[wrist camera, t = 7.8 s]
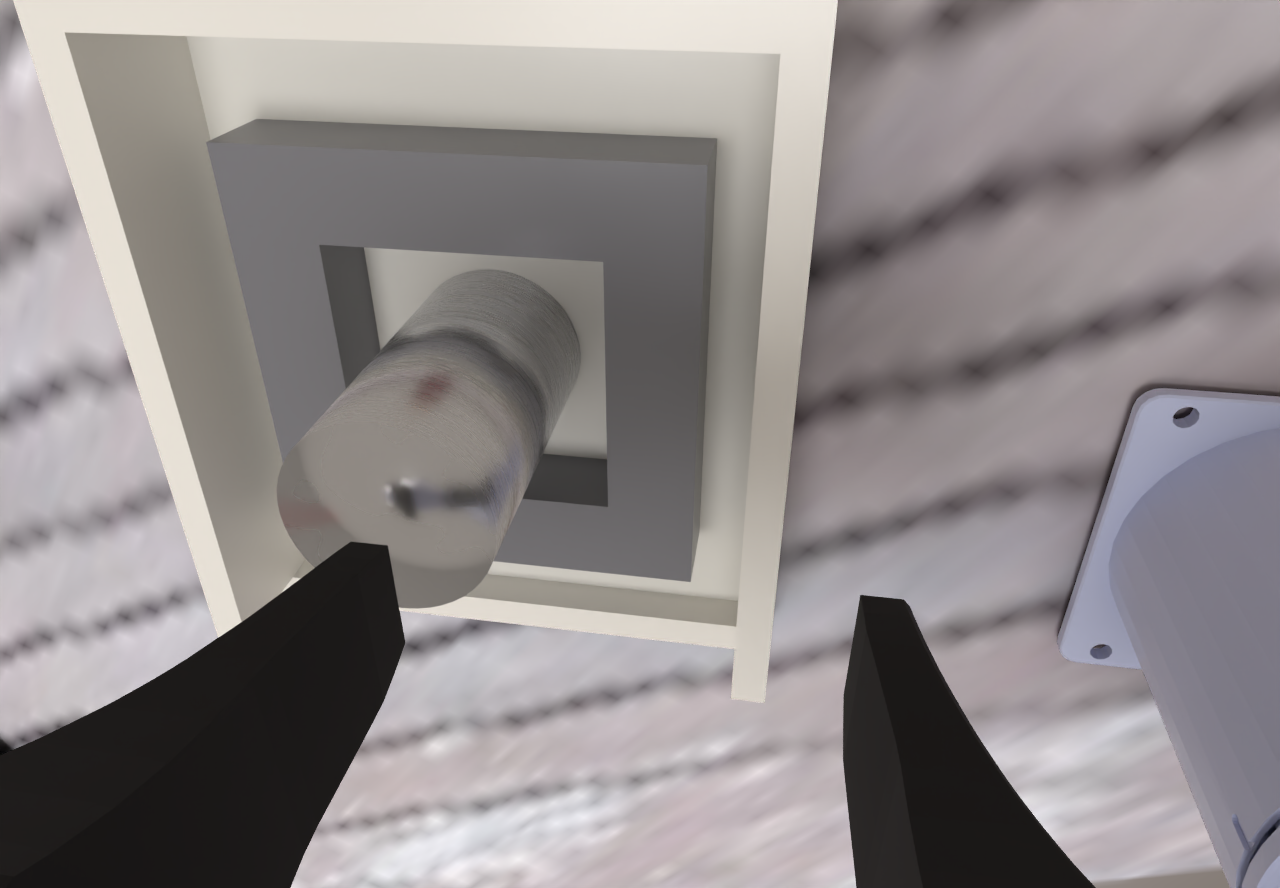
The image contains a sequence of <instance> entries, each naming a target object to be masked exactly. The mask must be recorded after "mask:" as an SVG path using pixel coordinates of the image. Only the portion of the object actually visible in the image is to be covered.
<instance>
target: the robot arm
mask: <svg viewBox="0 0 1280 888" xmlns="http://www.w3.org/2000/svg"><path fill="white" fill-rule="evenodd" d="M1185 407H1192V408H1193V410H1192V412H1191V413H1190V415H1188V416H1186V417H1185V418H1181V419H1175V418H1173V416H1174V414H1175V413H1176V412H1177V411H1178V410H1180V409H1182V408H1185ZM1057 644H1058V647H1059V650H1060V653H1061V654H1062V656H1063V657H1064V658H1065V659H1067V660H1069V661H1073V662H1078V663H1087V664H1096V665H1105V666H1114V667H1123V668H1132V669H1141V670H1142V671H1143V673H1144V675H1145V678H1146V680H1147V683H1148V685H1149V688H1150V690H1151V693H1152V695H1153V698H1154V700H1155V703H1156V705H1157V708H1158V710H1159V713H1160V715H1161V718H1162V720H1163V723H1164V725H1165V728H1166V730H1167V732H1168V735H1169V737H1170V740H1171V742H1172V745H1173V747H1174V750H1175V752H1176V755H1177V757H1178V760H1179V762H1180V765H1181V767H1182V770H1183V772H1184V775H1185V777H1186V780H1187V782H1188V784H1189V787H1190V789H1191V792H1192V794H1193V797H1194V799H1195V802H1196V804H1197V807H1198V809H1199V812H1200V814H1201V817H1202V819H1203V822H1204V824H1205V827H1206V829H1207V832H1208V834H1209V837H1210V839H1211V841H1212V844H1213V846H1214V849H1215V851H1216V854H1217V856H1218V859H1219V861H1220V864H1221V866H1222V869H1223V871H1224V874H1225V876H1226V879H1227V881H1228V884H1229V886H1230V888H1280V397H1279V396H1266V395H1252V394H1238V393H1225V392H1211V391H1197V390H1184V389H1170V388H1158V389H1152V390H1150V391H1147V392H1145V393H1144V394H1142V395H1141V396H1140V397H1139V398H1138V399H1137V400H1136V402H1135V404H1134V405H1133V408H1132V411H1131V414H1130V417H1129V420H1128V423H1127V426H1126V429H1125V432H1124V435H1123V438H1122V442H1121V445H1120V448H1119V451H1118V454H1117V457H1116V460H1115V463H1114V466H1113V469H1112V472H1111V475H1110V478H1109V481H1108V485H1107V488H1106V491H1105V494H1104V497H1103V500H1102V503H1101V506H1100V509H1099V512H1098V515H1097V518H1096V521H1095V525H1094V528H1093V531H1092V534H1091V537H1090V540H1089V543H1088V546H1087V549H1086V552H1085V555H1084V558H1083V561H1082V564H1081V568H1080V571H1079V574H1078V577H1077V580H1076V583H1075V586H1074V589H1073V592H1072V595H1071V598H1070V601H1069V604H1068V608H1067V611H1066V614H1065V617H1064V620H1063V623H1062V626H1061V629H1060V632H1059V635H1058V640H1057ZM1099 644H1105V646H1104V647H1102V648H1095V649H1094V648H1093V647H1094V646H1096V645H1099ZM404 645H405V639H404V633H403V627H402V622H401V616H400V611H399V605H398V599H397V594H396V588H395V583H394V577H393V572H392V566H391V560H390V555H389V549H388V545H379V544H370V543H360V542H349V543H348V544H347V545H345V546H344V547H342V548H341V549H339V550H338V551H337V552H335V553H334V554H333V555H331V556H330V557H329V558H327V559H326V560H325V561H323V562H322V563H321V564H319V565H318V566H317V567H315V568H314V569H313V570H311V571H310V572H309V573H307V574H306V575H305V576H303V577H302V578H301V579H299V580H298V581H297V582H295V583H294V584H293V585H291V586H290V587H289V588H287V589H286V590H285V591H283V592H282V593H281V594H279V595H278V596H277V597H275V598H274V599H273V600H271V601H270V602H268V603H267V604H266V605H264V606H263V607H262V608H260V609H259V610H258V611H256V612H255V613H253V614H252V615H251V616H249V617H248V618H247V619H245V620H244V621H242V622H241V623H240V624H238V625H237V626H235V627H234V628H232V629H231V630H229V631H228V632H226V633H225V634H223V635H222V636H220V637H219V638H217V639H216V640H214V641H213V642H211V643H210V644H208V645H207V646H205V647H204V648H202V649H201V650H199V651H198V652H196V653H195V654H193V655H192V656H190V657H189V658H187V659H186V660H184V661H183V662H181V663H180V664H178V665H176V666H175V667H173V668H172V669H170V670H168V671H167V672H165V673H163V674H162V675H160V676H158V677H157V678H155V679H153V680H151V681H150V682H148V683H146V684H144V685H143V686H141V687H139V688H137V689H136V690H134V691H132V692H130V693H128V694H127V695H125V696H123V697H121V698H120V699H118V700H116V701H114V702H112V703H110V704H108V705H106V706H104V707H102V708H100V709H98V710H96V711H94V712H92V713H90V714H88V715H86V716H84V717H82V718H80V719H78V720H76V721H74V722H72V723H70V724H68V725H66V726H64V727H62V728H60V729H58V730H56V731H54V732H52V733H50V734H48V735H46V736H43V737H41V738H39V739H37V740H35V741H32V742H30V743H28V744H26V745H23V746H21V747H19V748H16V749H14V750H12V751H9V752H7V753H5V754H3V755H0V888H290V887H291V885H292V882H293V880H294V877H295V875H296V872H297V870H298V868H299V865H300V863H301V860H302V858H303V855H304V853H305V851H306V849H307V847H308V845H309V843H310V841H311V839H312V837H313V834H314V832H315V830H316V828H317V826H318V824H319V822H320V820H321V819H322V817H323V815H324V813H325V811H326V809H327V807H328V806H329V804H330V802H331V800H332V798H333V796H334V794H335V792H336V791H337V789H338V787H339V785H340V783H341V781H342V779H343V777H344V776H345V774H346V772H347V770H348V768H349V766H350V764H351V763H352V761H353V759H354V757H355V755H356V753H357V751H358V749H359V748H360V746H361V744H362V742H363V740H364V738H365V736H366V734H367V732H368V730H369V729H370V727H371V725H372V723H373V721H374V719H375V717H376V715H377V713H378V711H379V709H380V707H381V705H382V703H383V701H384V699H385V696H386V694H387V691H388V689H389V686H390V684H391V681H392V678H393V676H394V673H395V670H396V667H397V665H398V662H399V659H400V656H401V653H402V650H403V648H404ZM843 763H844V773H845V783H846V792H847V802H848V812H849V821H850V830H851V840H852V849H853V858H854V868H855V877H856V886H857V888H1095V886H1094V885H1093V884H1092V883H1091V882H1090V881H1089V880H1088V879H1087V878H1086V877H1085V876H1084V875H1083V874H1082V872H1081V871H1080V870H1079V869H1078V868H1077V867H1076V866H1075V865H1074V864H1073V863H1072V861H1071V860H1070V859H1069V858H1068V857H1067V856H1066V854H1065V853H1064V852H1063V851H1062V850H1061V848H1060V847H1059V846H1058V845H1057V844H1056V842H1055V841H1054V840H1053V839H1052V838H1051V836H1050V835H1049V834H1048V833H1047V832H1046V830H1045V829H1044V828H1043V827H1042V825H1041V824H1040V823H1039V821H1038V820H1037V819H1036V818H1035V816H1034V815H1033V814H1032V812H1031V811H1030V810H1029V809H1028V807H1027V806H1026V805H1025V803H1024V802H1023V801H1022V800H1021V798H1020V797H1019V795H1018V794H1017V793H1016V791H1015V790H1014V789H1013V787H1012V786H1011V784H1010V783H1009V782H1008V780H1007V779H1006V777H1005V776H1004V775H1003V773H1002V772H1001V770H1000V769H999V767H998V766H997V764H996V763H995V761H994V760H993V758H992V757H991V755H990V754H989V752H988V751H987V749H986V748H985V746H984V745H983V743H982V742H981V740H980V739H979V737H978V735H977V734H976V732H975V731H974V729H973V727H972V726H971V724H970V723H969V721H968V719H967V718H966V716H965V714H964V712H963V711H962V709H961V707H960V705H959V704H958V702H957V700H956V699H955V697H954V695H953V693H952V692H951V690H950V688H949V687H948V685H947V683H946V681H945V679H944V677H943V676H942V674H941V672H940V670H939V668H938V666H937V664H936V662H935V660H934V658H933V656H932V654H931V652H930V650H929V648H928V646H927V644H926V642H925V640H924V638H923V636H922V634H921V631H920V629H919V627H918V625H917V622H916V620H915V618H914V615H913V613H912V610H911V608H910V606H909V605H908V604H907V603H906V602H905V601H904V600H902V599H893V598H883V597H874V596H864V595H860V601H859V607H858V613H857V619H856V625H855V631H854V637H853V643H852V649H851V655H850V661H849V667H848V673H847V679H846V685H845V691H844V716H843Z"/></svg>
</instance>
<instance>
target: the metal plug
mask: <svg viewBox="0 0 1280 888" xmlns="http://www.w3.org/2000/svg"><path fill="white" fill-rule="evenodd" d="M580 363H581V352H580V345H579V340H578V336H577V333H576V330H575V328H574V325H573V323H572V321H571V319H570V318H569V316H568V314H567V313H566V311H565V310H564V309H563V307H562V306H561V305H560V303H559V302H558V301H557V300H556V299H555V298H554V297H553V296H552V295H551V294H549V293H548V292H547V291H546V290H544V289H543V288H542V287H540V286H539V285H537V284H536V283H534V282H532V281H530V280H528V279H526V278H524V277H522V276H519V275H516V274H514V273H510V272H506V271H501V270H492V269H480V270H473V271H467V272H464V273H461V274H458V275H456V276H454V277H452V278H450V279H448V280H446V281H445V282H444V283H442V284H441V285H440V286H439V287H438V288H436V289H435V290H434V291H433V292H432V294H431V295H430V296H429V297H428V298H427V299H426V300H425V301H424V302H423V304H422V305H421V306H420V307H419V308H418V309H417V310H416V311H415V312H414V314H413V315H412V316H411V317H410V318H409V319H408V320H407V321H406V323H405V324H404V325H403V326H402V327H401V328H400V329H399V330H398V331H397V333H396V334H395V335H394V336H393V337H392V338H391V339H390V340H389V341H388V343H387V344H386V345H385V346H384V347H383V348H382V349H381V350H380V351H379V353H378V354H377V355H376V356H375V357H374V358H373V359H372V360H371V361H370V363H369V364H368V365H367V366H366V367H365V368H364V369H363V370H362V372H361V373H360V374H359V375H358V376H357V377H356V378H355V379H354V380H353V382H352V383H351V384H350V385H349V386H348V387H347V388H346V389H345V390H344V392H343V393H342V394H341V395H340V396H339V397H338V398H337V399H336V400H335V402H334V403H333V404H332V405H331V406H330V407H329V408H328V409H327V411H326V412H325V413H324V414H323V415H322V416H321V417H320V418H319V419H318V421H317V422H316V423H315V424H314V425H313V426H312V427H311V428H310V429H309V431H308V432H307V433H306V434H305V435H304V436H303V437H302V438H301V439H300V441H299V442H298V443H297V444H296V445H295V446H294V447H293V448H292V450H291V451H290V452H289V454H288V455H287V457H286V458H285V460H284V462H283V464H282V466H281V469H280V473H279V476H278V482H277V503H278V507H279V512H280V516H281V518H282V521H283V524H284V526H285V528H286V530H287V532H288V534H289V536H290V538H291V540H292V541H293V543H294V544H295V546H296V547H297V549H298V550H299V551H300V552H301V554H302V555H303V556H304V557H305V558H306V560H307V561H308V562H309V563H310V564H311V565H312V566H313V567H314V568H315V567H317V566H318V565H319V564H321V563H322V562H323V561H325V560H326V559H327V558H329V557H330V556H331V555H333V554H334V553H335V552H337V551H338V550H339V549H341V548H342V547H344V546H345V545H347V544H348V543H349V542H360V543H370V544H379V545H388V549H389V555H390V560H391V566H392V572H393V577H394V583H395V588H396V594H397V599H398V605H399V607H400V608H415V609H419V608H431V607H436V606H441V605H445V604H448V603H451V602H454V601H456V600H458V599H460V598H462V597H464V596H465V595H467V594H468V593H469V592H471V591H472V590H474V589H475V588H476V587H477V586H478V585H479V584H480V583H481V582H482V580H483V579H484V577H485V576H486V575H487V573H488V571H489V569H490V567H491V565H492V563H493V561H494V559H495V556H496V554H497V552H498V550H499V548H500V546H501V543H502V541H503V539H504V537H505V535H506V533H507V530H508V528H509V526H510V524H511V522H512V520H513V517H514V515H515V513H516V511H517V509H518V507H519V504H520V502H521V500H522V498H523V496H524V494H525V491H526V489H527V487H528V485H529V483H530V481H531V478H532V476H533V474H534V472H535V470H536V468H537V465H538V463H539V461H540V459H541V457H542V454H543V452H544V450H545V448H546V446H547V444H548V441H549V439H550V437H551V435H552V433H553V431H554V428H555V426H556V424H557V422H558V420H559V418H560V415H561V413H562V411H563V409H564V407H565V405H566V402H567V400H568V398H569V396H570V394H571V392H572V389H573V387H574V385H575V383H576V381H577V377H578V374H579V370H580Z"/></svg>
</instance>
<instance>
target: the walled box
mask: <svg viewBox="0 0 1280 888" xmlns="http://www.w3.org/2000/svg"><path fill="white" fill-rule="evenodd" d="M13 1H14V4H15V7H16V10H17V13H18V17H19V20H20V23H21V26H22V29H23V32H24V35H25V38H26V41H27V45H28V48H29V51H30V54H31V57H32V60H33V63H34V66H35V69H36V73H37V76H38V79H39V82H40V85H41V88H42V91H43V94H44V97H45V100H46V104H47V107H48V110H49V113H50V116H51V119H52V122H53V125H54V128H55V132H56V135H57V138H58V141H59V144H60V147H61V150H62V153H63V156H64V159H65V163H66V166H67V169H68V172H69V175H70V178H71V181H72V184H73V187H74V191H75V194H76V197H77V200H78V203H79V206H80V209H81V212H82V215H83V218H84V222H85V225H86V228H87V231H88V234H89V237H90V240H91V243H92V246H93V250H94V253H95V256H96V259H97V262H98V265H99V268H100V271H101V274H102V278H103V281H104V284H105V287H106V290H107V293H108V296H109V299H110V302H111V305H112V309H113V312H114V315H115V318H116V321H117V324H118V327H119V330H120V333H121V337H122V340H123V343H124V346H125V349H126V352H127V355H128V358H129V361H130V364H131V368H132V371H133V374H134V377H135V380H136V383H137V386H138V389H139V392H140V396H141V399H142V402H143V405H144V408H145V411H146V414H147V417H148V420H149V424H150V427H151V430H152V433H153V436H154V439H155V442H156V445H157V448H158V451H159V455H160V458H161V461H162V464H163V467H164V470H165V473H166V476H167V479H168V483H169V486H170V489H171V492H172V495H173V498H174V501H175V504H176V507H177V510H178V514H179V517H180V520H181V523H182V526H183V529H184V532H185V535H186V538H187V542H188V545H189V548H190V551H191V554H192V557H193V560H194V563H195V566H196V570H197V573H198V576H199V579H200V582H201V585H202V588H203V591H204V594H205V597H206V601H207V604H208V607H209V610H210V613H211V616H212V619H213V622H214V625H215V629H216V632H217V635H218V637H220V636H222V635H223V634H225V633H226V632H228V631H229V630H231V629H232V628H234V627H235V626H237V625H238V624H240V623H241V622H242V621H244V620H245V619H247V618H248V617H249V616H251V615H252V614H253V613H255V612H256V611H258V610H259V609H260V608H262V607H263V606H264V605H266V604H267V603H268V602H270V601H271V600H273V599H274V598H275V597H277V596H278V595H279V594H281V593H282V592H283V591H285V590H286V589H287V588H289V587H290V586H291V585H293V584H294V583H295V582H297V581H298V580H299V579H301V578H302V577H303V576H305V575H306V574H307V573H309V572H310V571H311V570H313V569H314V567H313V566H312V565H311V564H310V563H309V562H308V561H307V560H306V558H305V557H304V556H303V555H302V554H301V552H300V551H299V550H298V549H297V547H296V546H295V544H294V543H293V541H292V540H291V538H290V536H289V534H288V532H287V530H286V528H285V526H284V524H283V521H282V518H281V516H280V512H279V507H278V503H277V482H278V476H279V473H280V469H281V466H282V464H283V462H284V460H285V458H286V457H287V455H288V454H289V452H290V451H291V450H292V448H293V447H294V446H295V445H296V444H297V443H298V442H299V441H300V439H301V438H302V437H303V436H304V435H305V434H306V433H307V432H308V431H309V429H310V428H311V427H312V426H313V425H314V424H315V423H316V422H317V421H318V419H319V418H320V417H321V416H322V415H323V414H324V413H325V412H326V411H327V409H328V408H329V407H330V406H331V405H332V404H333V403H334V402H335V400H336V399H337V398H338V397H339V396H340V395H341V394H342V393H343V392H344V390H345V389H346V388H347V387H348V386H349V385H350V384H351V383H352V382H353V380H354V379H355V378H356V377H357V376H358V375H359V374H360V373H361V372H362V370H363V369H364V368H365V367H366V366H367V365H368V364H369V363H370V361H371V360H372V359H373V358H374V357H375V356H376V355H377V354H378V353H379V351H380V350H381V349H382V348H383V347H384V346H385V345H386V344H387V343H388V341H389V340H390V339H391V338H392V337H393V336H394V335H395V334H396V333H397V331H398V330H399V329H400V328H401V327H402V326H403V325H404V324H405V323H406V321H407V320H408V319H409V318H410V317H411V316H412V315H413V314H414V312H415V311H416V310H417V309H418V308H419V307H420V306H421V305H422V304H423V302H424V301H425V300H426V299H427V298H428V297H429V296H430V295H431V294H432V292H433V291H434V290H435V289H436V288H438V287H439V286H440V285H441V284H442V283H444V282H445V281H446V280H448V279H450V278H452V277H454V276H456V275H458V274H461V273H464V272H467V271H473V270H480V269H492V270H501V271H506V272H510V273H514V274H516V275H519V276H522V277H524V278H526V279H528V280H530V281H532V282H534V283H536V284H537V285H539V286H540V287H542V288H543V289H544V290H546V291H547V292H548V293H549V294H551V295H552V296H553V297H554V298H555V299H556V300H557V301H558V302H559V303H560V305H561V306H562V307H563V309H564V310H565V311H566V313H567V314H568V316H569V318H570V319H571V321H572V323H573V325H574V328H575V330H576V333H577V336H578V340H579V345H580V352H581V363H580V370H579V374H578V377H577V381H576V383H575V385H574V387H573V389H572V392H571V394H570V396H569V398H568V400H567V402H566V405H565V407H564V409H563V411H562V413H561V415H560V418H559V420H558V422H557V424H556V426H555V428H554V431H553V433H552V435H551V437H550V439H549V441H548V444H547V446H546V448H545V450H544V452H543V454H542V457H541V459H540V461H539V463H538V465H537V468H536V470H535V472H534V474H533V476H532V478H531V481H530V483H529V485H528V487H527V489H526V491H525V494H524V496H523V498H522V500H521V502H520V504H519V507H518V509H517V511H516V513H515V515H514V517H513V520H512V522H511V524H510V526H509V528H508V530H507V533H506V535H505V537H504V539H503V541H502V543H501V546H500V548H499V550H498V552H497V554H496V556H495V559H494V561H493V563H492V565H491V567H490V569H489V571H488V573H487V575H486V576H485V577H484V579H483V580H482V582H481V583H480V584H479V585H478V586H477V587H476V588H475V589H474V590H472V591H471V592H469V593H468V594H467V595H465V596H464V597H462V598H460V599H458V600H456V601H454V602H451V603H448V604H445V605H441V606H436V607H431V608H419V609H415V608H400V607H399V611H407V612H415V613H424V614H433V615H441V616H450V617H459V618H468V619H476V620H485V621H494V622H503V623H511V624H520V625H529V626H537V627H546V628H555V629H564V630H572V631H581V632H590V633H598V634H607V635H616V636H625V637H633V638H642V639H651V640H659V641H668V642H677V643H686V644H694V645H703V646H712V647H720V648H729V649H735V651H734V664H733V677H732V690H731V699H735V700H744V701H752V702H760V703H765V694H766V684H767V674H768V665H769V655H770V646H771V636H772V627H773V617H774V607H775V598H776V588H777V579H778V569H779V560H780V550H781V540H782V531H783V521H784V512H785V502H786V493H787V483H788V473H789V464H790V454H791V445H792V435H793V426H794V416H795V406H796V397H797V387H798V378H799V368H800V359H801V349H802V339H803V330H804V320H805V311H806V301H807V292H808V282H809V272H810V263H811V253H812V244H813V234H814V225H815V215H816V205H817V196H818V186H819V177H820V167H821V158H822V148H823V139H824V129H825V119H826V110H827V100H828V91H829V81H830V72H831V62H832V52H833V43H834V33H835V24H836V14H837V5H838V0H13Z"/></svg>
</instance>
